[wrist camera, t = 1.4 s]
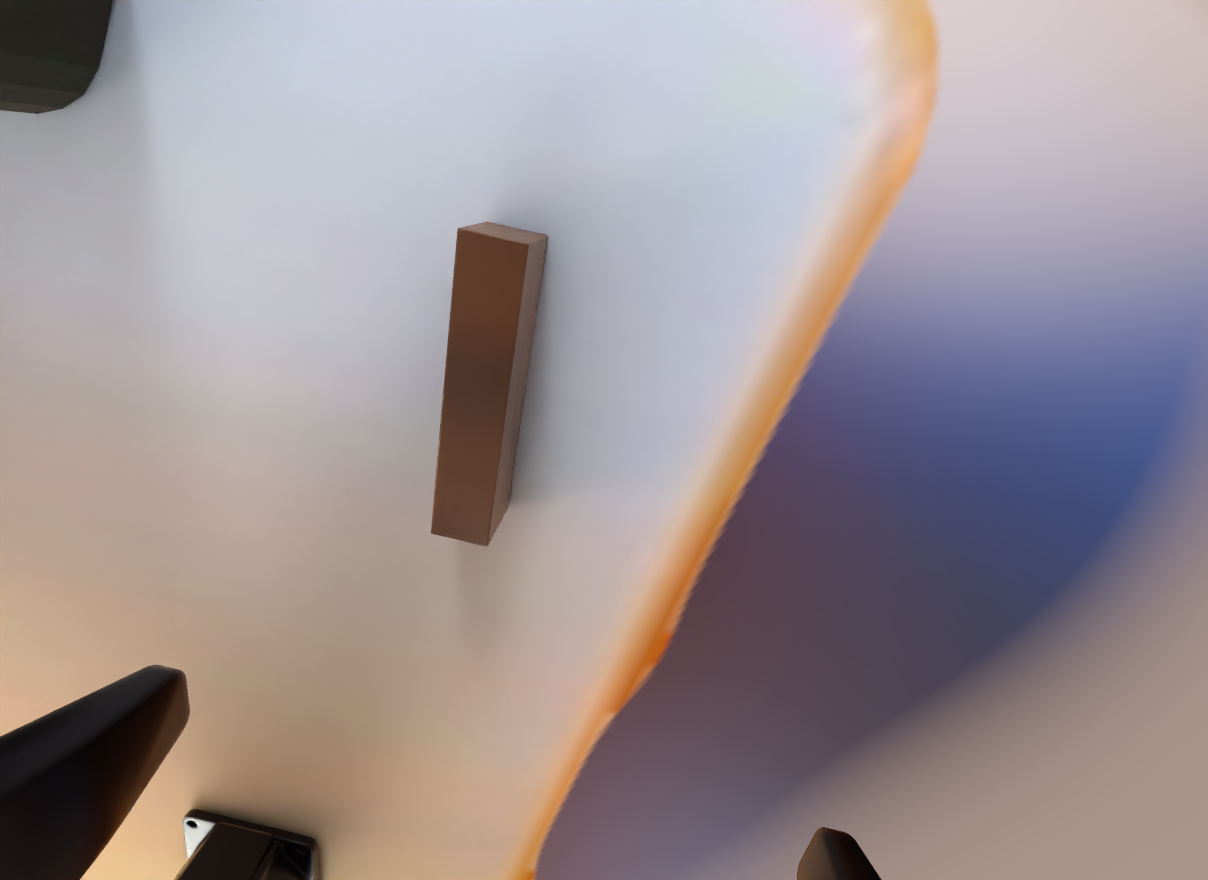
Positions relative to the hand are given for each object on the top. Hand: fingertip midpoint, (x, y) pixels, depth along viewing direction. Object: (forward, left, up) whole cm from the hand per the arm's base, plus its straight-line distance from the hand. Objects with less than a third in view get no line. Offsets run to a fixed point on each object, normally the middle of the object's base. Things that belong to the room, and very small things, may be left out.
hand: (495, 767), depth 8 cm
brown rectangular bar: (+1, +3, -12) cm, 12 cm away
